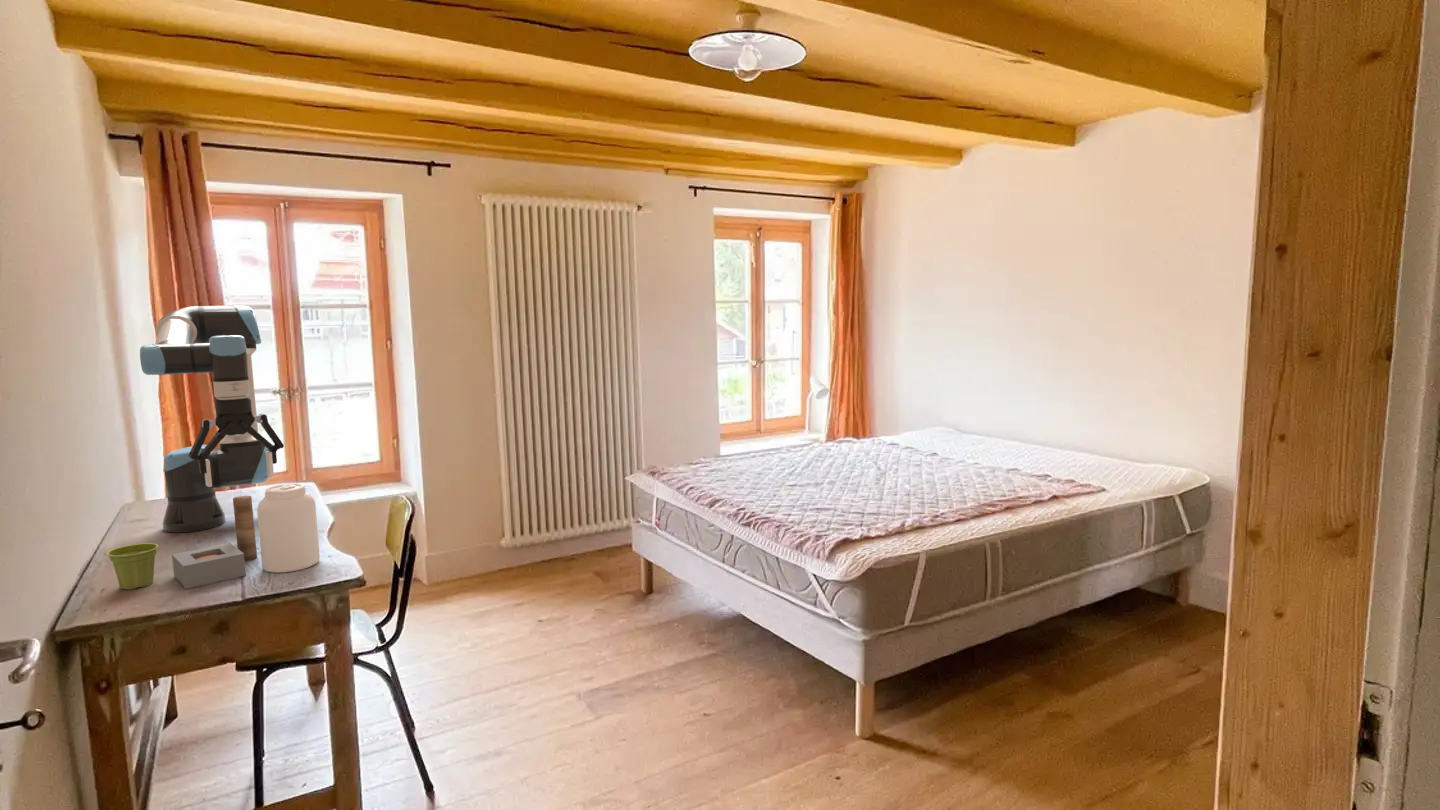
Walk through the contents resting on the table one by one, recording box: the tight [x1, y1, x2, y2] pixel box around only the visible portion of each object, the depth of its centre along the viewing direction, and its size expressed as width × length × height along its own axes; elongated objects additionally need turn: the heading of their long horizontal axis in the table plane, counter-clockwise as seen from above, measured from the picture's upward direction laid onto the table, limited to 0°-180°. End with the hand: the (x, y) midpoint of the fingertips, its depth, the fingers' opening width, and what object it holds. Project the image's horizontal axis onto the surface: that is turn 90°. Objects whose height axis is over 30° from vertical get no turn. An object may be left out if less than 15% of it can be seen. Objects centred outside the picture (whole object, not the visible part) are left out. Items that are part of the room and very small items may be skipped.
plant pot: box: [106, 542, 159, 590], centre depth 175 cm, size 9×9×9 cm
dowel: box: [232, 495, 258, 562], centre depth 192 cm, size 4×4×16 cm
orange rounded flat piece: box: [196, 555, 218, 560], centre depth 180 cm, size 5×5×2 cm
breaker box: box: [171, 542, 247, 590], centre depth 180 cm, size 12×12×6 cm
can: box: [256, 483, 321, 574], centre depth 186 cm, size 12×12×20 cm
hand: (240, 481), depth 190 cm, fingers open, 13 cm apart
